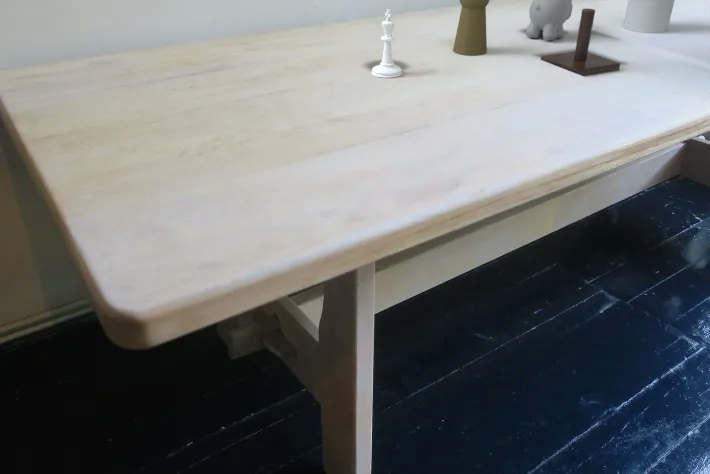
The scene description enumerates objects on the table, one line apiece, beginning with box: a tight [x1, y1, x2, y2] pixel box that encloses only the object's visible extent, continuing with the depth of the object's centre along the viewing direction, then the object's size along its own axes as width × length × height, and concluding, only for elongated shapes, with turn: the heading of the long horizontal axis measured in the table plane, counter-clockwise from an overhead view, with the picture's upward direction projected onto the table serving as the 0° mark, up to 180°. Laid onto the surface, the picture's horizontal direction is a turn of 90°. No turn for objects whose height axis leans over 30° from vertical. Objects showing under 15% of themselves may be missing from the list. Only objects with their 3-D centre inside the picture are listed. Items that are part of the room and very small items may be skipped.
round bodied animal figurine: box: [525, 0, 574, 41], centre depth 127 cm, size 7×12×8 cm, turn 135°
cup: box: [622, 0, 675, 35], centre depth 127 cm, size 8×8×12 cm
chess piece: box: [371, 8, 403, 79], centre depth 105 cm, size 5×5×10 cm
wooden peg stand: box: [540, 7, 621, 77], centre depth 109 cm, size 9×9×9 cm
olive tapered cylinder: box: [452, 0, 490, 56], centre depth 116 cm, size 6×6×11 cm
